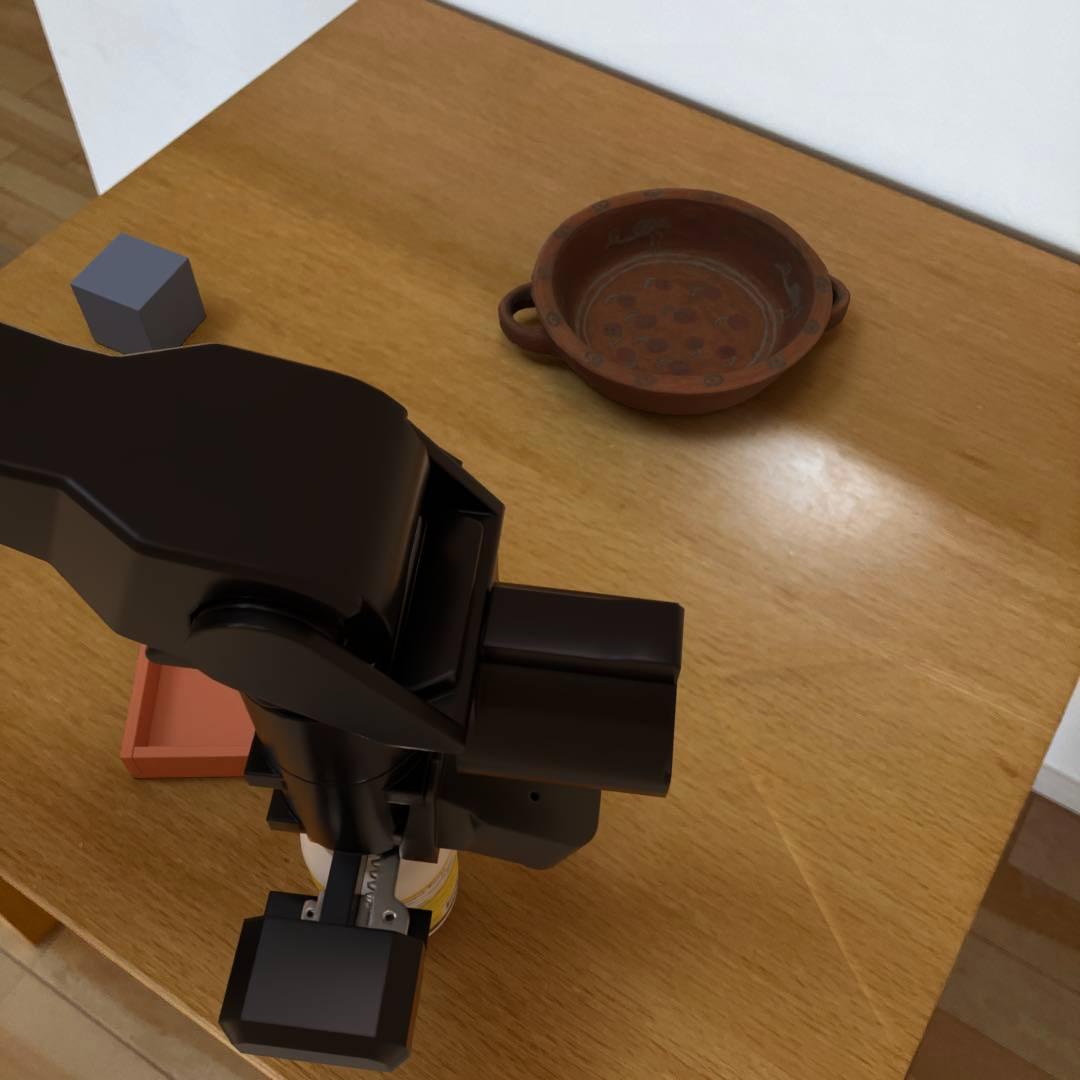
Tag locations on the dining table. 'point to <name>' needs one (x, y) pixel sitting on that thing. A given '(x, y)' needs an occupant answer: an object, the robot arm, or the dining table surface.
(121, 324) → the blue block
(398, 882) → the pill bottle
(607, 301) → the dish
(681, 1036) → the dining table surface
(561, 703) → the robot arm
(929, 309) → the dining table surface
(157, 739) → the terracotta tray
